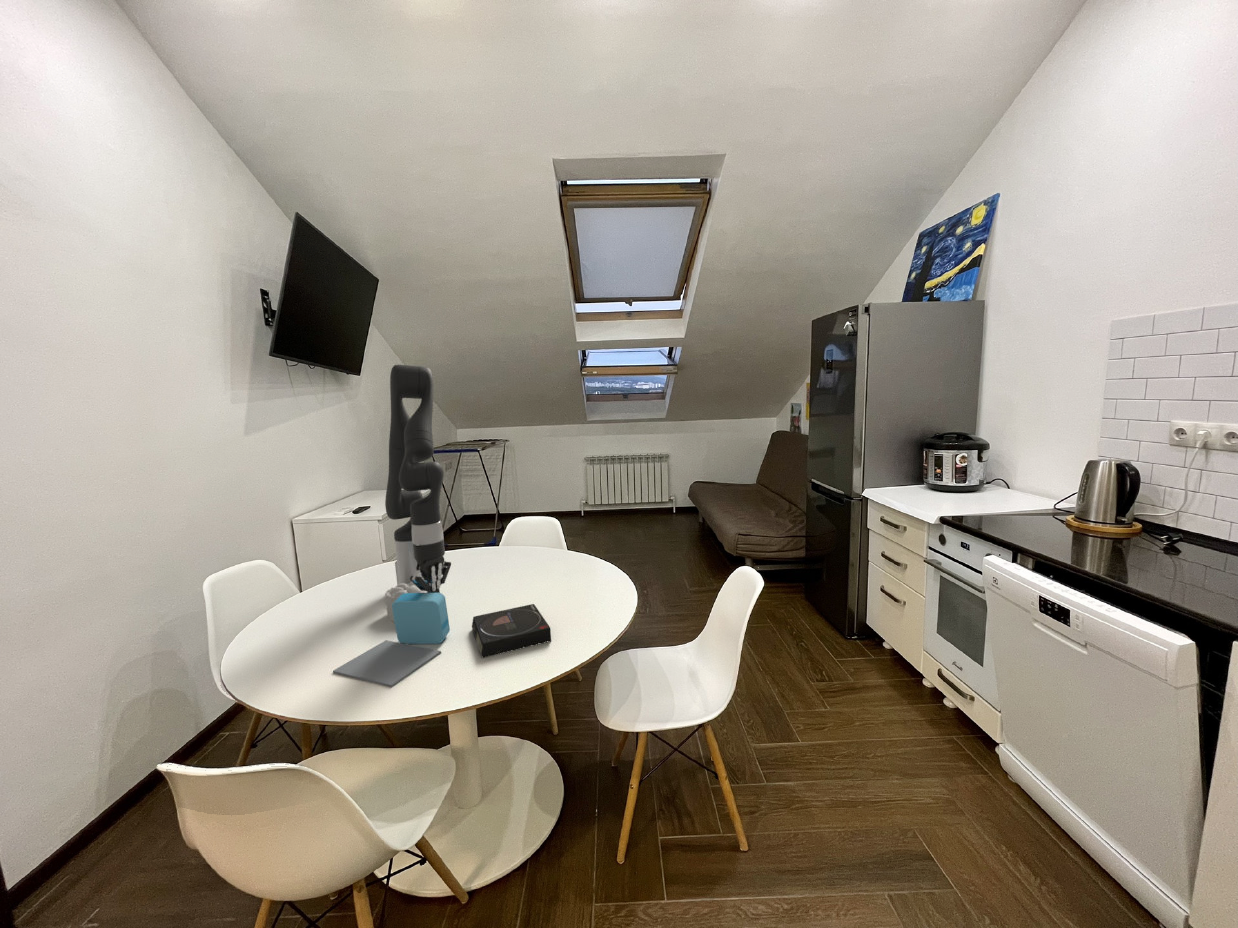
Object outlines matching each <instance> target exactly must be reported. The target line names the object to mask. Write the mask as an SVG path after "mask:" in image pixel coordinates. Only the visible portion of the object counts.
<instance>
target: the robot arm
mask: <svg viewBox="0 0 1238 928" xmlns="http://www.w3.org/2000/svg"><path fill="white" fill-rule="evenodd" d="M390 370H391V371H390V374H389V376H390V379H389V388H390V390H389V391H390V426H389V427H390V428H389V440H388V474H387V484H386V492H385V501H384V502H385V504H384V507H385V513H386V515H387V517H388V518H389V519H390V520H394V521H395V520H401V519H402V520H403V519H407V518H409V520H408V521H407V522H406V523H405V524H404V525H402V526H399V527H398V528H397V529H395V530H394V532H393V533H394V534H393V537H394V547H395V555H396V561H394V566H395V567H394V568H395V575H396V576H395V578H396V586H397V585H398V584H401V583H404V584H406V585H407V584H410V583H411V582H413V583H414V584H415V585H416V586H417V587H418V588H419V589H420V590H421V591H427V593H441V592H440V591H441V590H440V589H441V586H442V585H444V584H445V583H446V580H447V577H448V575H449V572H450V569H451V566H452V562H451V561H447V560H445V557H444V556H445V554H446V550H445V539H444V530H443V525H442V521H441V520H442V519H441V510H440V509H441V508H440V506H441V505H440V499H441V491H442V486H443V482H444V476H445V474H444V473H445V472H444V468H443V467H442V465H441V464H440V463H439V462H437V461H428V460H429V459H431V458H432V457H433V455H434V452H435V449H434V439H433V412H434V411H433V409H434V407H433V406H434V377H433V373H432V370H431V369H430V368H429V367H427V366H420V365H417V366H416V365H409V364H408V365H407V364H394V365H393V366H392V368H391V369H390ZM403 399H415V400H416V399H417V400H419V399H420V400H421V401H420V404H419V406H418V408H417V409H416V411H415V412H414V413H413V414H412V415H411V417H410V415H409V413H408V412H407V409H406V407H405V405H404V402H403ZM425 461H427V462H425ZM428 490H429V494H427V496H424V497H423V493H422V491H428Z"/></svg>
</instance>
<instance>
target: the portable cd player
mask: <svg viewBox="0 0 1238 928" xmlns="http://www.w3.org/2000/svg"><path fill="white" fill-rule="evenodd" d="M471 628H472V629H471V630H472V632H473V635H474V638H475V641H476V644H477V646H478V650H479V652H480V655H481V657H482V658H489V657H493V656H495V655H500V653H501V654H504V653H503V652H505V653H508V652H507V651H509V652H512V651H511V650H513V651H517V650H521V649H524V648H523V647H525V648H529V647H532V646H531V645H533V646H537V645H539V644H538V643H541V644H545V643H544V642H546V643H548V642H547V641H550V642H552V633H551V631H552V630H551V626H550V625H549V624H548V622H547V621H546V620H545V618H544V616H543V615H542V613H541V612H540V611H539V609H538V607H537V606H536V605H535V604H534V603H532V604H527V605H521V606H518V607H512V608H508V609H504V610H498V611H493V612H489V613H483V614H480V615H475V616H473V617H472V623H471ZM536 644H537V645H536ZM520 648H521V649H520ZM516 649H517V650H516Z"/></svg>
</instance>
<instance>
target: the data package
mask: <svg viewBox="0 0 1238 928" xmlns="http://www.w3.org/2000/svg"><path fill="white" fill-rule="evenodd" d="M447 607H448V606H447V603H446V596H445V595H444V594H443V593H442V592H440V593H404V594H402V595H401V596H400V597H399V598H398V599H397V600H396V601H395V602H394V603H393V604H392V610H393V616H394V621H393V622H394V627H395V633H396V638H397V641H398V643H403V644H408V645H436V644H437V645H438V644H439V645H440V644H441V643H442V642H444V640H445V638H446V637H447V636H448V634H449V633H450V629H451V628H450V627H451V626H450V621H449V615H448V608H447Z"/></svg>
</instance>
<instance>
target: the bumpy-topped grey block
mask: <svg viewBox="0 0 1238 928" xmlns="http://www.w3.org/2000/svg"><path fill="white" fill-rule="evenodd" d="M404 593H427V591H421V590H420V589H419V588H418V587H417V586H416V585H415V584H414V583H413V582H411V583H410V584H407V585H406V584H404V583H401V584H398V585H397V584H396V586H395V587H391V588H389V589H387V590H386V591H385V593H384V597H385V605H386V613H387V619H388V620H389V621H392V622H394V616H393V610H392V604H393V603H394V602H395V601H396V600H397V599H398V598H399V597H400V596H401V595H402V594H404Z"/></svg>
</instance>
